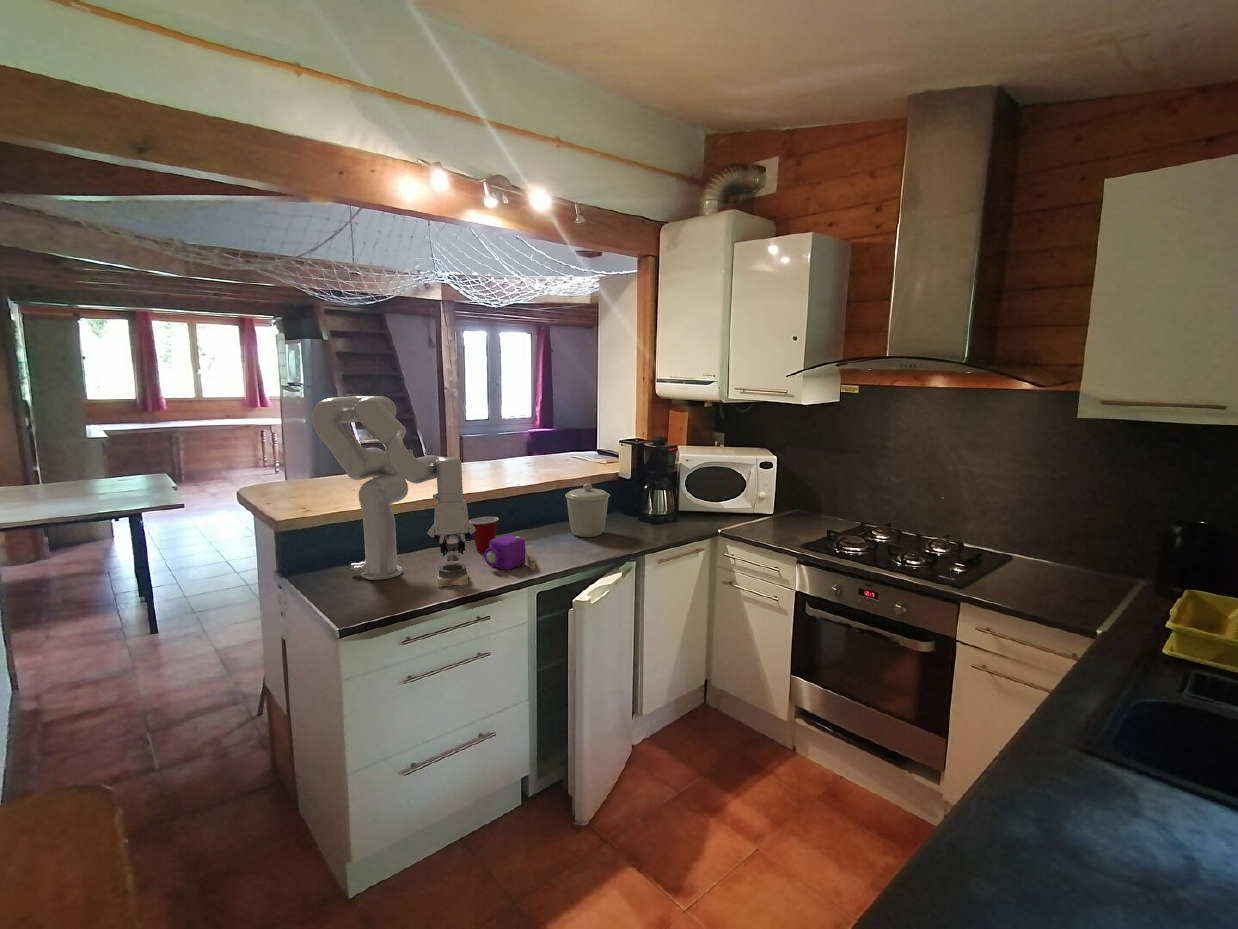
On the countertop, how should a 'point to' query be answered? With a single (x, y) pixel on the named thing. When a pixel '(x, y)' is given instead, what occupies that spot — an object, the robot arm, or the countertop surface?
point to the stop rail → (530, 559)
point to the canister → (587, 511)
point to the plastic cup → (484, 531)
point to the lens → (452, 547)
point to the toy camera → (506, 552)
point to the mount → (452, 574)
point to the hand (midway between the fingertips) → (452, 553)
